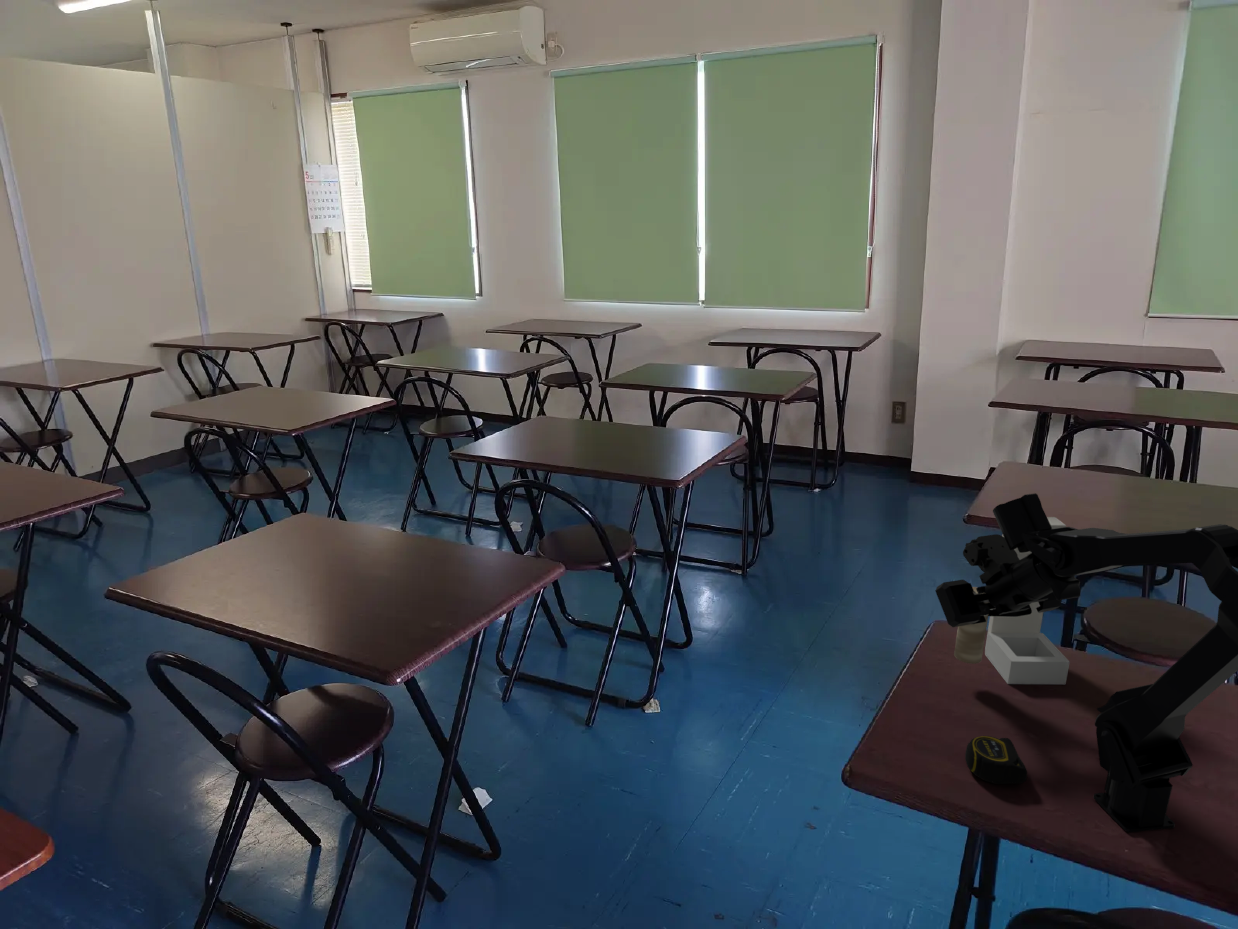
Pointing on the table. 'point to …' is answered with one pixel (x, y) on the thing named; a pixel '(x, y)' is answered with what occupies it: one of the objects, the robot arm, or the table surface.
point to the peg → (971, 641)
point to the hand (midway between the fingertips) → (967, 614)
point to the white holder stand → (1025, 645)
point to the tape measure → (995, 760)
